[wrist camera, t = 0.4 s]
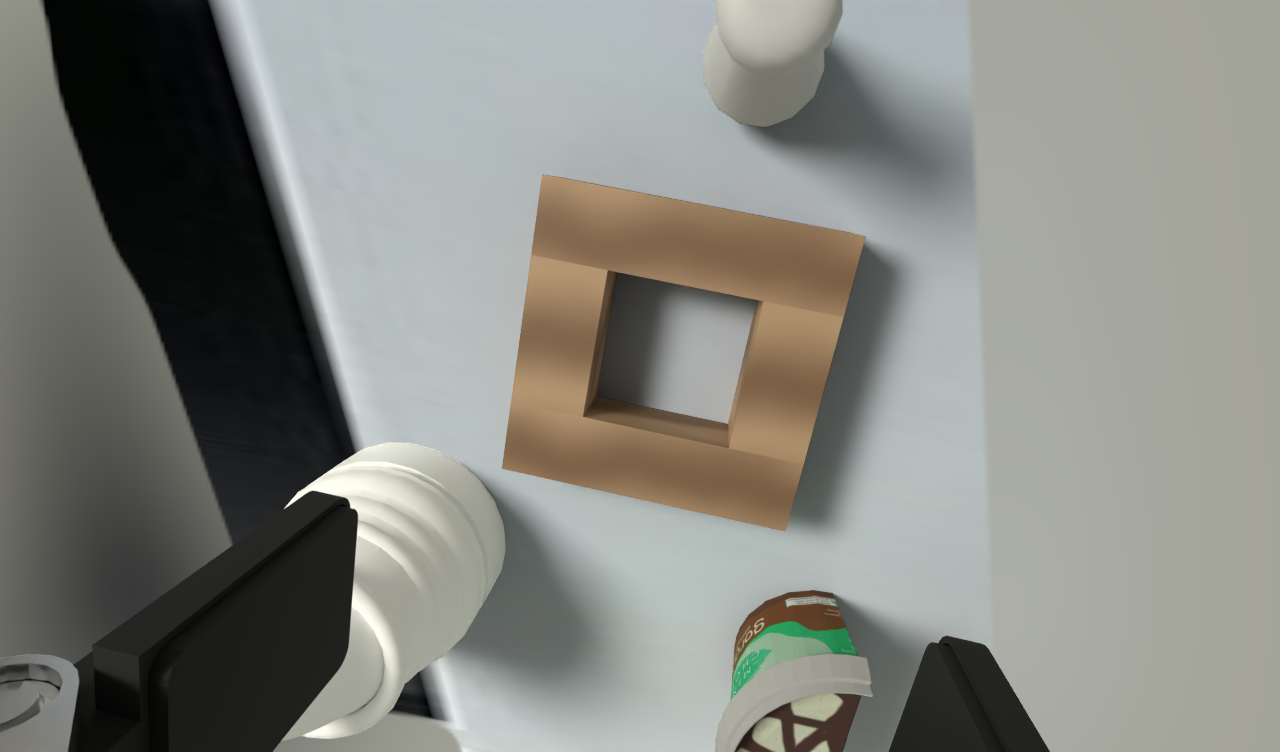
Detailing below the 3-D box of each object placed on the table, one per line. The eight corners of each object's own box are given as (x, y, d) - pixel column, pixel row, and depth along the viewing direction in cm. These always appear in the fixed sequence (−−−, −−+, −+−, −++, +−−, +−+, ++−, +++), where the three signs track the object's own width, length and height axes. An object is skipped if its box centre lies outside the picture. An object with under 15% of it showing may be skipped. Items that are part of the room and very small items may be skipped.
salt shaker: (828, 16, 33) (893, -95, 21) (806, 137, 35) (854, 101, 22) (712, 4, 34) (707, -112, 21) (695, 124, 35) (682, 81, 23)
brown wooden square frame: (561, 177, 37) (542, 174, 33) (849, 232, 36) (865, 236, 32) (522, 443, 41) (502, 468, 37) (779, 499, 40) (785, 531, 36)
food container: (740, 549, 41) (747, 654, 31) (839, 572, 41) (876, 686, 31) (697, 710, 44) (691, 850, 35) (788, 732, 44) (807, 880, 34)
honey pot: (443, 653, 46) (275, 928, 28) (286, 547, 45) (15, 762, 28) (543, 520, 42) (421, 740, 25) (375, 402, 42) (128, 545, 24)
